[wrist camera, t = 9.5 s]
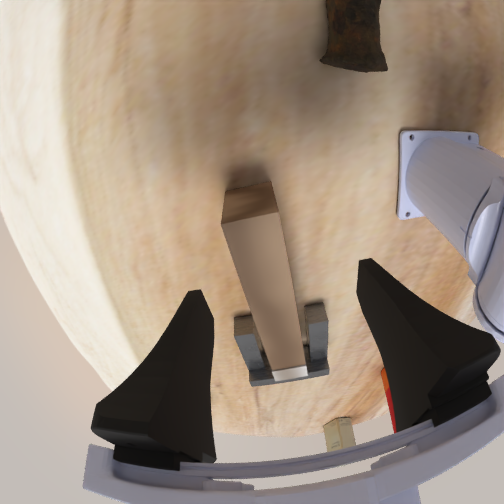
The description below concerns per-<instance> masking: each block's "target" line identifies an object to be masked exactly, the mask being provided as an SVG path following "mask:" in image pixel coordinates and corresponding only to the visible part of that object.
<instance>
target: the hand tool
mask: <svg viewBox="0 0 504 504" xmlns="http://www.w3.org/2000/svg"><path fill="white" fill-rule="evenodd" d="M380 3H381V0H326V7H327V10H328V21H329V25H328V30H329V39H328V49H327V52H326V55H325V56H323V57H322V58H321V59H320V60H319V61H321V62H322V63H323V64H328V65H331V66H334V67H339V68H344V69H348V70H354V71H358V72H366V73H367V72H378V71H381V72H383V71H387V70H388V67H387V64H386V60H385V56H384V54H383V52H382V50H381V45H380V24H379V9H380Z"/></svg>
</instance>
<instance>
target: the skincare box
mask: <svg viewBox="0 0 504 504" xmlns="http://www.w3.org/2000/svg"><path fill="white" fill-rule="evenodd" d="M323 427H324V433H325V439H326V445H327V452H331V451H335V450H340V449H344V448H348V447H352V446H356V443H355V438H354V433H353V428H352V423H351V419H350V417H349V418H337V419H335V420H333V421H331V422H330V423H328V424H326V425H324V426H323ZM350 464H351V463H350ZM346 465H347V464H346ZM342 466H345V465H342ZM338 467H340V466H338ZM333 468H334V467H333Z"/></svg>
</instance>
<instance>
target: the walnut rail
mask: <svg viewBox="0 0 504 504" xmlns="http://www.w3.org/2000/svg"><path fill="white" fill-rule="evenodd" d="M221 226H222V229H223V232H224V235H225V238H226V241H227V244H228V247H229V250H230V253H231V256H232V259H233V262H234V265H235V267H236V270H237V273H238V276H239V279H240V282H241V285H242V288H243V290H244V293H245V296H246V299H247V302H248V305H249V308H250V310H251V313H252V316H253V319H254V322H255V324H256V327H257V330H258V333H259V335H260V338H261V341H262V344H263V347H264V349H265V352H266V355H267V357H268V360H269V363H270V366H271V368H272V374H273V376H274V379H275V381H281V380H288V379H293V378H299V377H304V376H308V374H307V367H306V361H305V355H304V350H303V344H302V337H301V331H300V325H299V319H298V313H297V307H296V301H295V295H294V290H293V284H292V278H291V273H290V267H289V262H288V257H287V251H286V246H285V241H284V236H283V231H282V226H281V221H280V216H279V211H278V207H277V203H276V199H275V195H274V191H273V187H272V184H271V181H270V182H265V183H261V184H256V185H251V186H247V187H243V188H238V189H234V190H230V191H226V192H225V198H224V205H223V212H222V220H221Z"/></svg>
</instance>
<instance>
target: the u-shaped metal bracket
mask: <svg viewBox="0 0 504 504" xmlns="http://www.w3.org/2000/svg"><path fill="white" fill-rule="evenodd" d="M305 318H306V330H307V344H308V345H306V346H303V350H304V355H305V361H306V367H307V374H308V376H304V377H299V378H293V379H288V380H281V381H275V379H274V376H273V374H272V368H271V366H270V363H269V360H268V357H267V355H266V352H264V350H263V347H262V344H261V340H260V337H259V334H258V330H257V327H256V324H255V322H254V319H253V316H252V315H249V316H243V317H236V318H234V337H235V340H236V342H237V344H238V347H239V349H240V351H241V354H242V356H243V358H244V361H245V363H246V365H247V367H248V370H249V382H250V384H251V386H252V387H253V386H262V385H270V384H277V383H284V382H291V381H297V380H303V379H308V378H314V377H319V376H324V375H329V365H328V360H327V348H328V318H327V315H326V311H325V308H324V304H323V303H319V304H314V305H309V306H305Z"/></svg>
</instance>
